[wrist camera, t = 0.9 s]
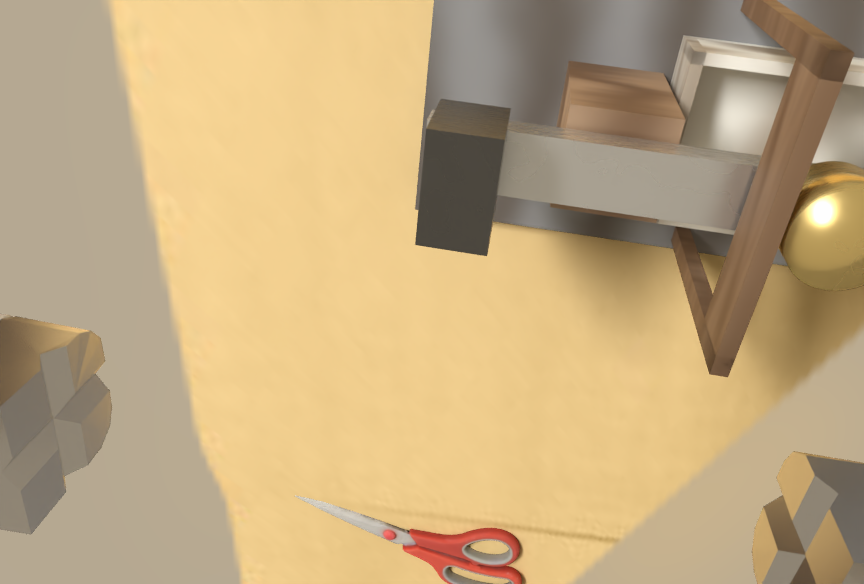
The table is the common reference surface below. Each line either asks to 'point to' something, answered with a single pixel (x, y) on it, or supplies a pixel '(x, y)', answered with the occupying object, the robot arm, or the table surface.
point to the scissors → (441, 546)
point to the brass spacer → (828, 228)
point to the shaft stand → (671, 112)
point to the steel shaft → (564, 175)
